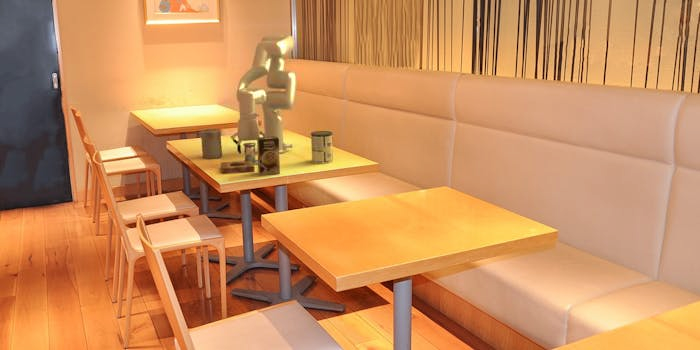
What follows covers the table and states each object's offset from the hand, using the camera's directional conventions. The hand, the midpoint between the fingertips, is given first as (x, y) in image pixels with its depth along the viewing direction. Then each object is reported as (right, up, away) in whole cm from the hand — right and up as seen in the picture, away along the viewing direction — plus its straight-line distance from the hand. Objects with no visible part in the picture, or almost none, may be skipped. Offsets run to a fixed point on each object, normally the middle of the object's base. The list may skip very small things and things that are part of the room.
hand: (249, 152), depth 305 cm
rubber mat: (0, -5, +1) cm, 5 cm away
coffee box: (+12, -10, -21) cm, 26 cm away
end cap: (0, -5, +1) cm, 5 cm away
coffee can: (+35, -4, +3) cm, 35 cm away
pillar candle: (-21, -2, +16) cm, 27 cm away
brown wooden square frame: (-4, -8, -13) cm, 16 cm away
